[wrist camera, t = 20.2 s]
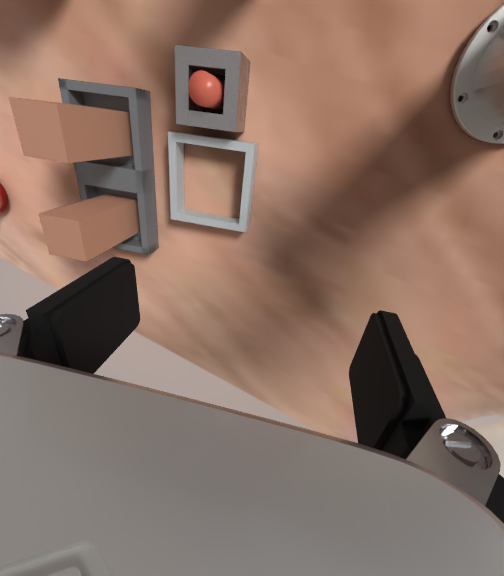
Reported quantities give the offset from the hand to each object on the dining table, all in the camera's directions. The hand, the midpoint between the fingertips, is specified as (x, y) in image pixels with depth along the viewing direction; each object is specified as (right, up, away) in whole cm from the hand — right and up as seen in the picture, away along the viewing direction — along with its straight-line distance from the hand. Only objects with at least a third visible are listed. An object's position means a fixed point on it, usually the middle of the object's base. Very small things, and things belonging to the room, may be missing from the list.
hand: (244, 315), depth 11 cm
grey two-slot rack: (-19, +18, +30) cm, 39 cm away
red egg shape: (-4, +24, +22) cm, 32 cm away
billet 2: (-19, +13, +32) cm, 39 cm away
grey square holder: (-4, +24, +23) cm, 33 cm away
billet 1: (-18, +22, +26) cm, 39 cm away
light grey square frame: (-5, +16, +28) cm, 32 cm away
